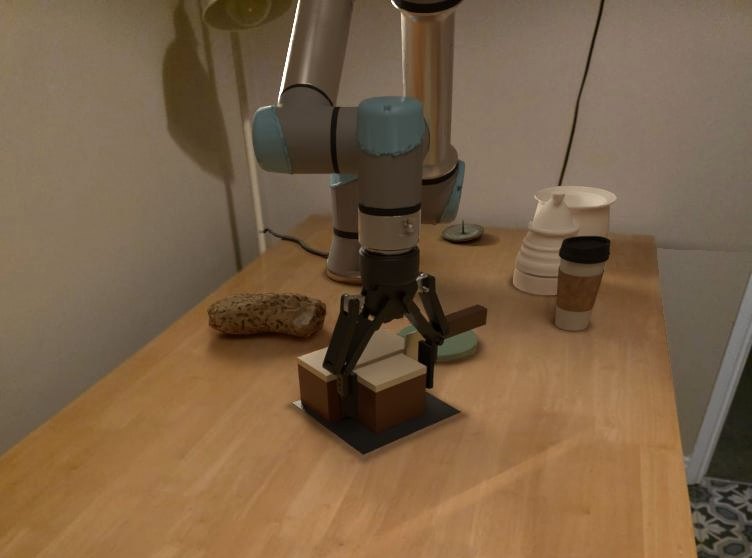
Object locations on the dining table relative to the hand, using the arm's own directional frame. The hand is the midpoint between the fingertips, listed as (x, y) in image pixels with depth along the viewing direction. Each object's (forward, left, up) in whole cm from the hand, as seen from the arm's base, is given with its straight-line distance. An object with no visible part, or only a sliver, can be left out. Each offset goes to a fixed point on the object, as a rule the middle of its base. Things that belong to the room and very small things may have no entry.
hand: (388, 399), depth 95 cm
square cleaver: (-3, +8, -2) cm, 9 cm away
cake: (-8, 0, -3) cm, 8 cm away
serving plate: (-14, +22, -3) cm, 27 cm away
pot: (-32, +78, -4) cm, 85 cm away
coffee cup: (-5, +47, -4) cm, 48 cm away
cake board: (-3, 0, -3) cm, 5 cm away
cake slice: (0, 0, -3) cm, 3 cm away
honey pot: (-22, +59, -4) cm, 63 cm away
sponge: (-38, +2, -4) cm, 39 cm away
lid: (-55, +67, -4) cm, 87 cm away
